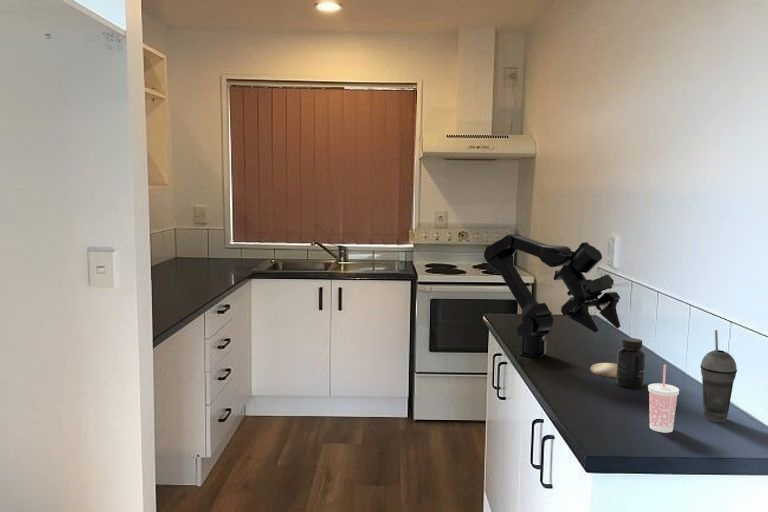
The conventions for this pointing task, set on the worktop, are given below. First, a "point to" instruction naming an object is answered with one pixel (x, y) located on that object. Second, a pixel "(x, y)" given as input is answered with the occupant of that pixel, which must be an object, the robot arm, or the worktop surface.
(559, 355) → the worktop surface
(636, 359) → the supplement bottle
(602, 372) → the coaster
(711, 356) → the beverage cup
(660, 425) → the beverage cup
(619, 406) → the worktop surface
